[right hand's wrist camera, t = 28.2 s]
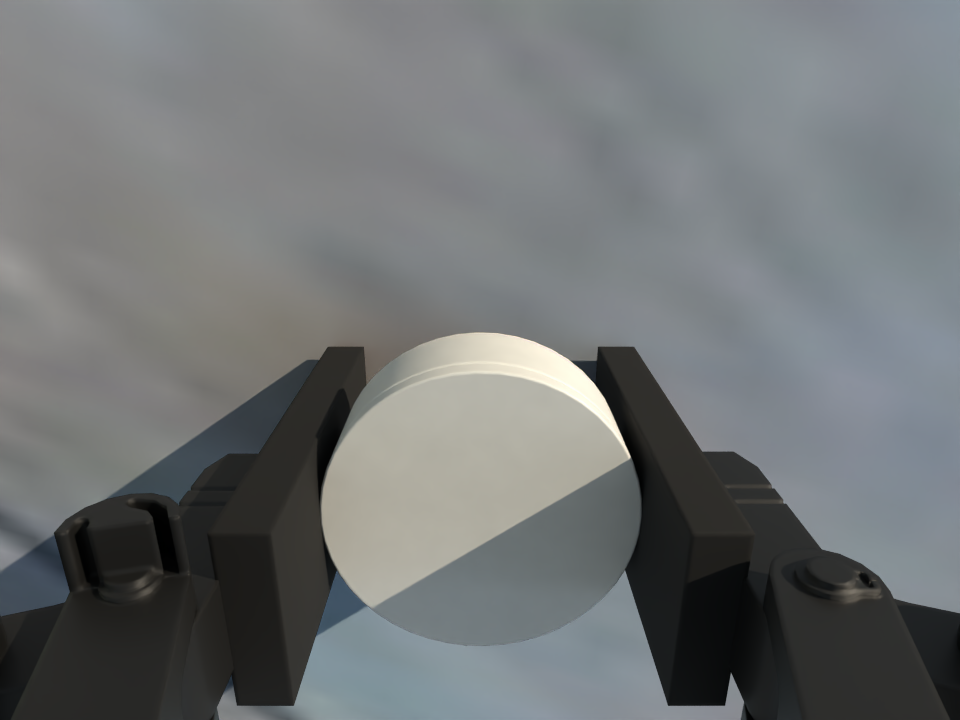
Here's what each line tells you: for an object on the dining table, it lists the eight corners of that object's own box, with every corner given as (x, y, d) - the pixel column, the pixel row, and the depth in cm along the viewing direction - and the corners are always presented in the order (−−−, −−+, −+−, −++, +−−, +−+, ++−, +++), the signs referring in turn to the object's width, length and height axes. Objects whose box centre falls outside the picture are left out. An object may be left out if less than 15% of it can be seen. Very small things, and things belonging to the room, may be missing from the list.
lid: (327, 334, 11) (299, 375, 9) (626, 327, 11) (653, 367, 9) (355, 578, 13) (335, 650, 11) (613, 572, 13) (632, 644, 11)
